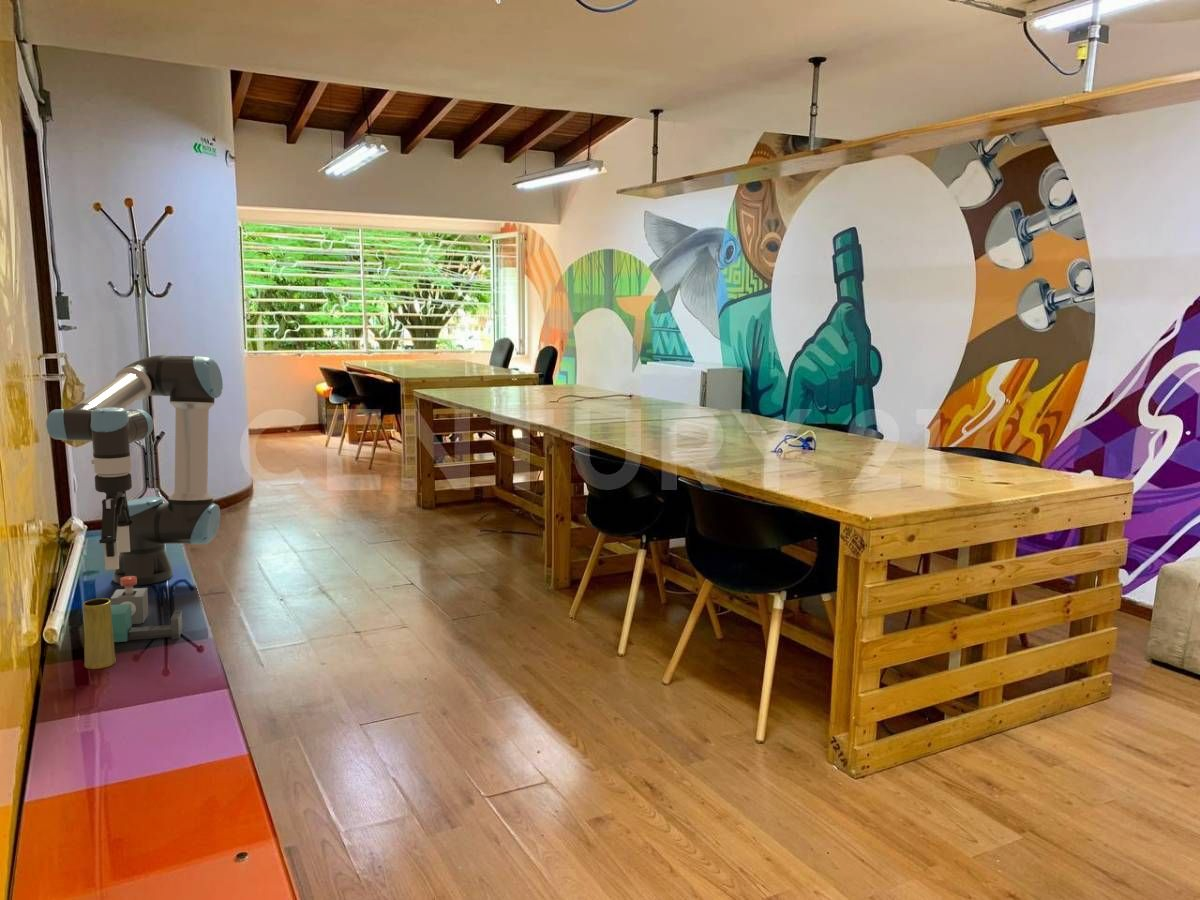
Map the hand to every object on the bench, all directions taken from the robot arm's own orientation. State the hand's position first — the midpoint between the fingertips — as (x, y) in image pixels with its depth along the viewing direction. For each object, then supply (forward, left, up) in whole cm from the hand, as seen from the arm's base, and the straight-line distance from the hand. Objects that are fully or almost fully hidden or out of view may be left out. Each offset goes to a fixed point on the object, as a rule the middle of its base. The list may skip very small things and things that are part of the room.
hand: (118, 560), depth 203 cm
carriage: (+5, 0, -18) cm, 19 cm away
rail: (+5, +4, -18) cm, 19 cm away
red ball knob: (-8, 0, -12) cm, 15 cm away
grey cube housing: (-8, 0, -18) cm, 20 cm away
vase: (+20, -1, -18) cm, 27 cm away
